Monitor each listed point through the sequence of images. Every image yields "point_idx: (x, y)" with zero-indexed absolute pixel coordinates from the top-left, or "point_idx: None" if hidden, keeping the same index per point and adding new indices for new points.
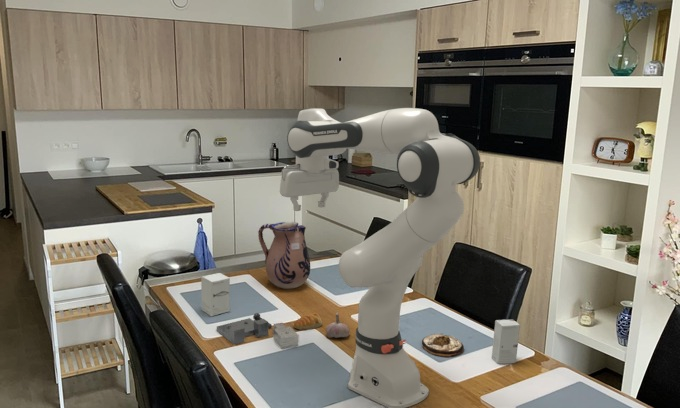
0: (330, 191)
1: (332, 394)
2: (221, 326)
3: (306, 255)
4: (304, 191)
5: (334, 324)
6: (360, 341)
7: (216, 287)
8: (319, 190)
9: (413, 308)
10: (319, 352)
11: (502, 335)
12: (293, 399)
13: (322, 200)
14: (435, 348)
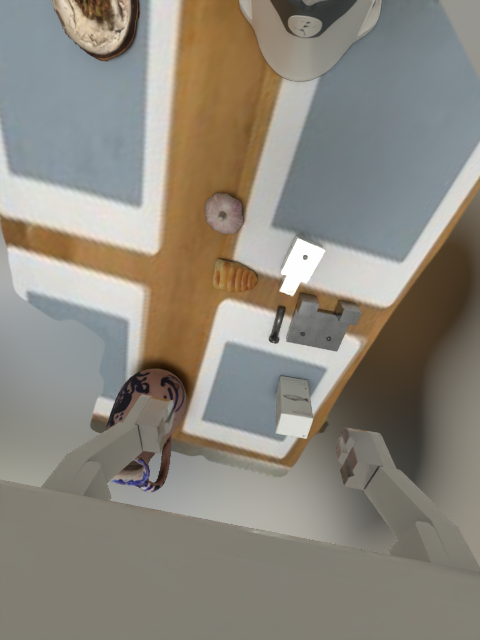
0: (15, 490)
1: (411, 33)
2: (332, 347)
3: (124, 399)
4: (407, 623)
5: (230, 216)
6: None
7: (304, 408)
8: (158, 556)
9: (43, 194)
10: (292, 190)
11: None
12: (465, 82)
13: (133, 442)
14: None
